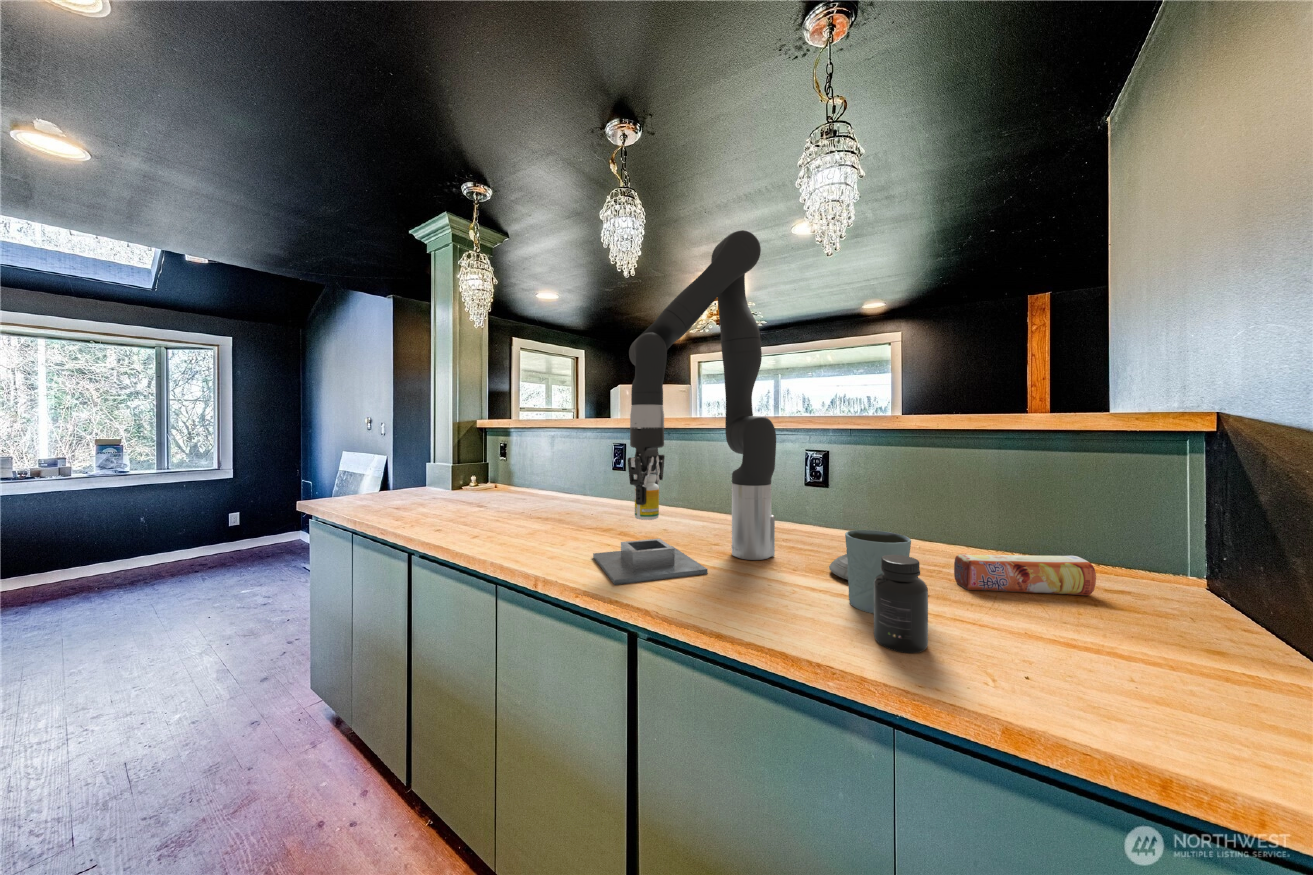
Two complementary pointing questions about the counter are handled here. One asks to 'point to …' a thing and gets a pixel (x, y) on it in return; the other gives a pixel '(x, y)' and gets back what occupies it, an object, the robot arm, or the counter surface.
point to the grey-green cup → (869, 562)
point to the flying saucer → (840, 566)
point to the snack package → (1025, 573)
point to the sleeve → (647, 562)
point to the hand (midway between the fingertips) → (647, 502)
